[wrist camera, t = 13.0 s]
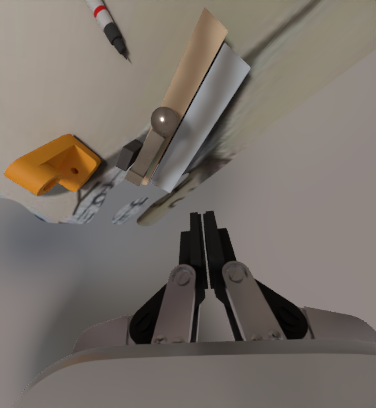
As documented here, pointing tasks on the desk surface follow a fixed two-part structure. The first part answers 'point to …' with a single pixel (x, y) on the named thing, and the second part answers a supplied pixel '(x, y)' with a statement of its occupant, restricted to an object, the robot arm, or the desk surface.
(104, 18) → the marker
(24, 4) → the desk surface
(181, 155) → the doorframe
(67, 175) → the bracket
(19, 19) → the desk surface
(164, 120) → the door handle
